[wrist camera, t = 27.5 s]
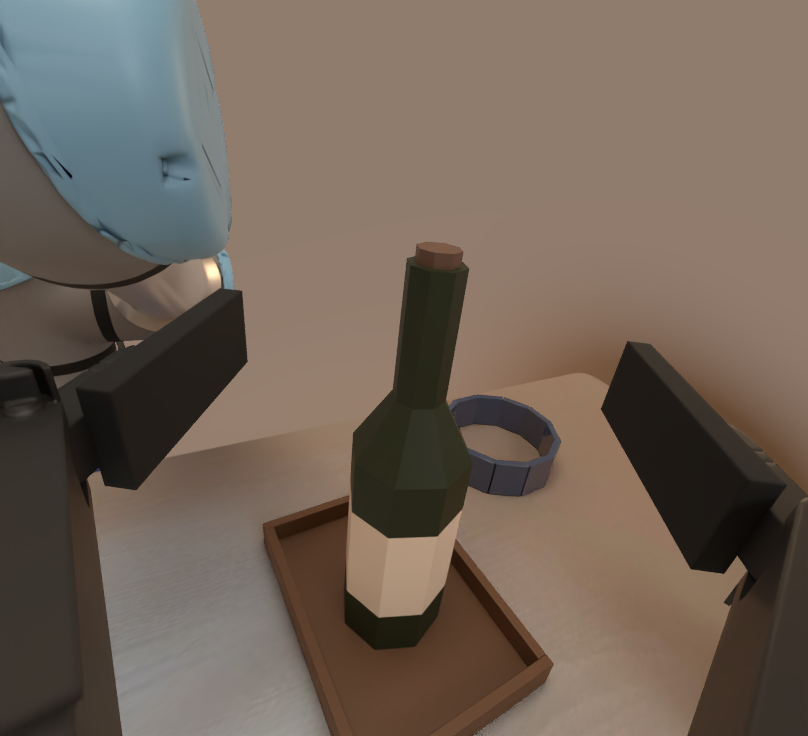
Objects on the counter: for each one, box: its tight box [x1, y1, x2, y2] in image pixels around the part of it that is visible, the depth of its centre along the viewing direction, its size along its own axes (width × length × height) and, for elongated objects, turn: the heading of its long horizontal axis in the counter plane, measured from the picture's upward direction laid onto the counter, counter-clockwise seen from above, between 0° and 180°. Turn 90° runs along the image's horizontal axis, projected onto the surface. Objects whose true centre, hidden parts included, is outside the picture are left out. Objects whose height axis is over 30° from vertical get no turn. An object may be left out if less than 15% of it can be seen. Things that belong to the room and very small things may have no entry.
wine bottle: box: [344, 242, 473, 650], centre depth 30 cm, size 8×8×30 cm
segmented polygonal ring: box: [449, 395, 561, 496], centre depth 56 cm, size 15×15×4 cm
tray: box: [263, 495, 553, 736], centre depth 37 cm, size 22×16×3 cm
